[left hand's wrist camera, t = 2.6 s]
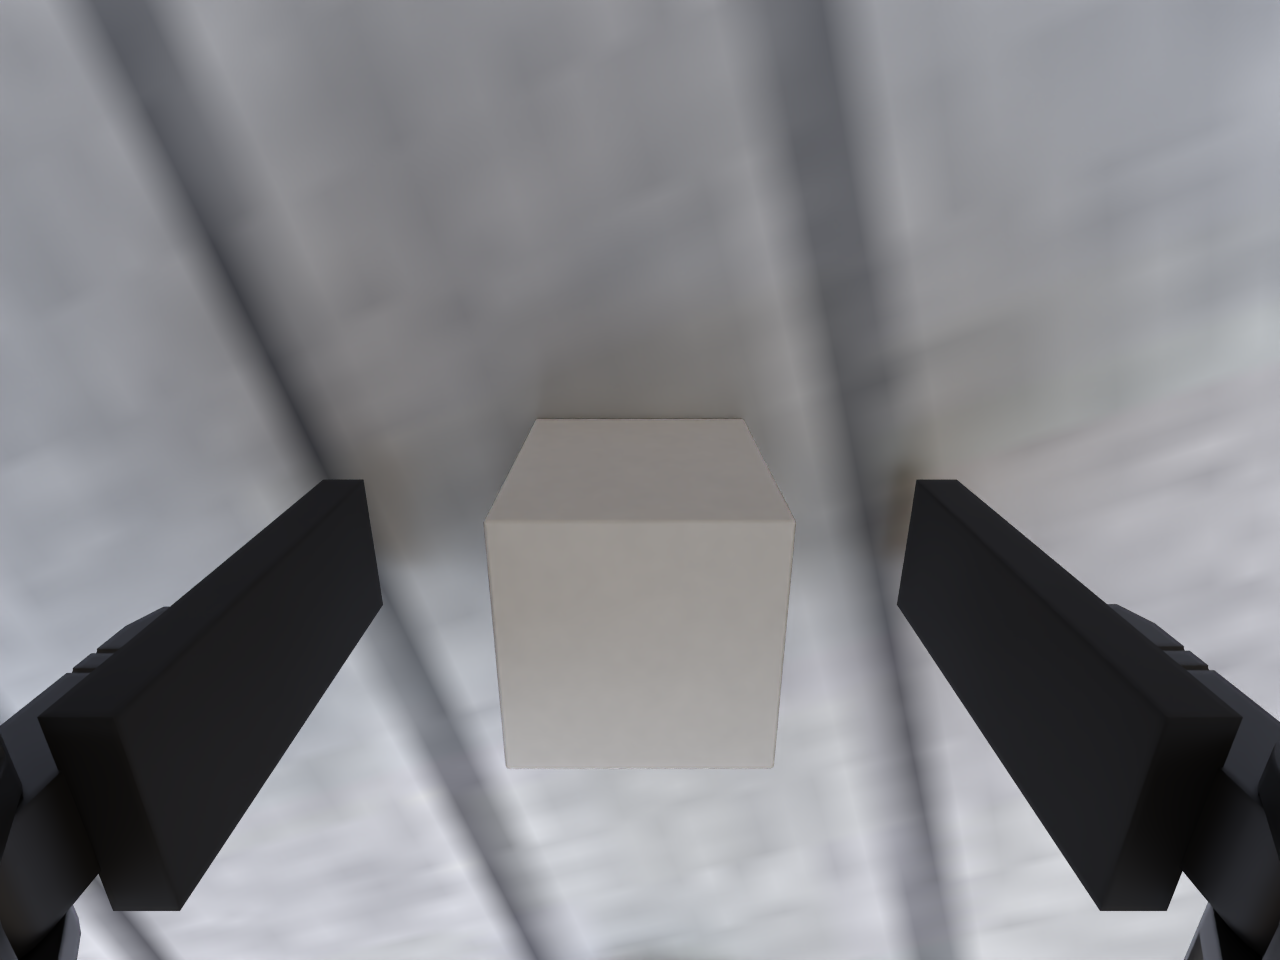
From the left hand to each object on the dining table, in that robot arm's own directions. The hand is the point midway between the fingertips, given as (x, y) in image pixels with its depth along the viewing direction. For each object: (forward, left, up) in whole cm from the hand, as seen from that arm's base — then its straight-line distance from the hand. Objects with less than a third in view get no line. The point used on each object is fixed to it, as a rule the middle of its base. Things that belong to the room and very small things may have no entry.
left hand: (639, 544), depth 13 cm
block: (0, 0, -1) cm, 1 cm away
